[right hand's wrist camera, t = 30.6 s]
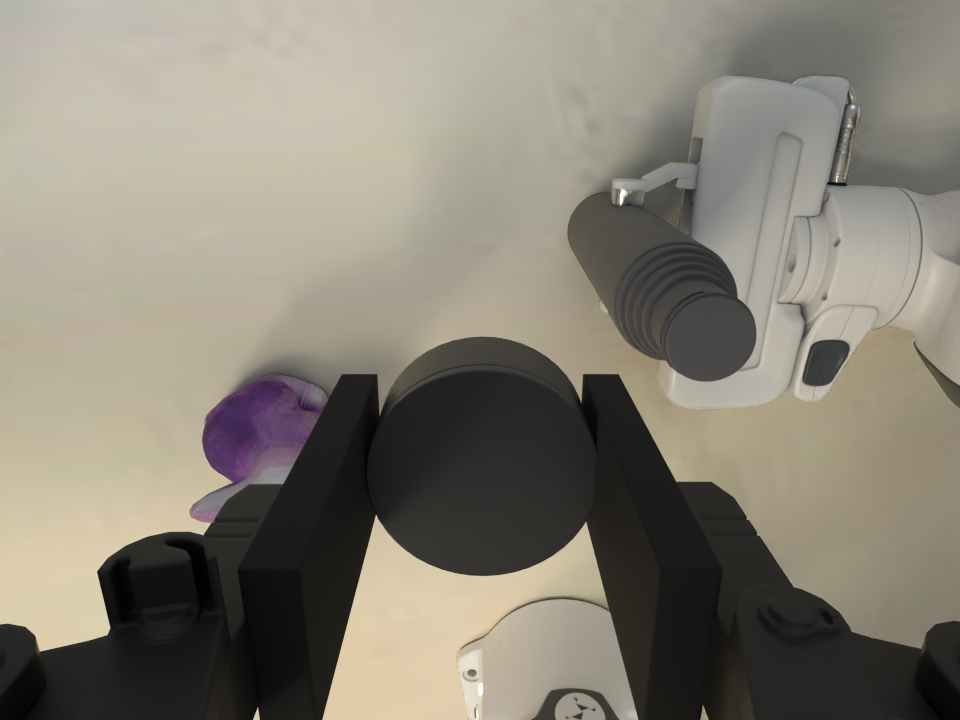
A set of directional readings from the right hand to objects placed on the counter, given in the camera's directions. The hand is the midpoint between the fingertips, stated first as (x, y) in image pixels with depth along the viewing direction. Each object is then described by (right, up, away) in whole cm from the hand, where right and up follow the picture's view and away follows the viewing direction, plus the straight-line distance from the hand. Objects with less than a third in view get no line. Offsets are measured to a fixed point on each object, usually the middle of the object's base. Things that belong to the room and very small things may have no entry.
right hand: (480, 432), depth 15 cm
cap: (0, -1, -2) cm, 2 cm away
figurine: (-15, -3, +39) cm, 41 cm away
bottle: (+9, +11, +33) cm, 36 cm away
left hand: (+8, +9, +27) cm, 29 cm away
